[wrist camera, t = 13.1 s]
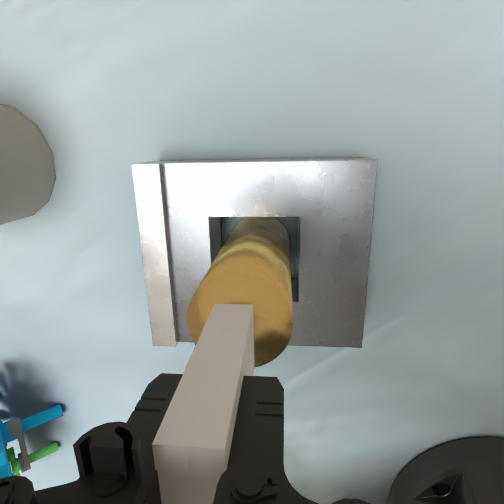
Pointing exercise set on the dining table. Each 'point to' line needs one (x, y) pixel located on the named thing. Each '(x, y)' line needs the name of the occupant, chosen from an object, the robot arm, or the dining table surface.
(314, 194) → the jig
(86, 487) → the robot arm
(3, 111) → the cup
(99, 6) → the dining table surface
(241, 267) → the brass cylinder peg
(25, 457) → the gear
